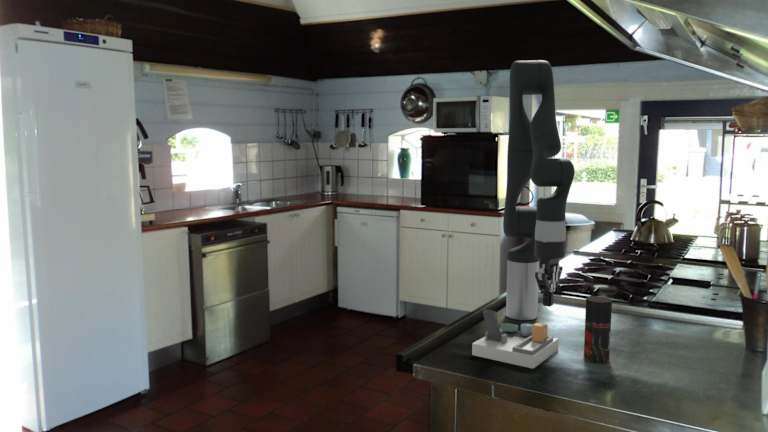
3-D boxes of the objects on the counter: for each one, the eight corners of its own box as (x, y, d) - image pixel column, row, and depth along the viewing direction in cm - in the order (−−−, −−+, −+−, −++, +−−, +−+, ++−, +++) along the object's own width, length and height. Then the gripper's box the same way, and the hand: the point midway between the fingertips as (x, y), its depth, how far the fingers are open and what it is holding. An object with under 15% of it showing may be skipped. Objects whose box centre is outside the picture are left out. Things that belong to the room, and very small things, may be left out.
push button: (523, 331, 166) (523, 322, 166) (535, 333, 164) (535, 324, 164) (518, 334, 163) (518, 325, 163) (530, 337, 162) (530, 327, 161)
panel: (500, 338, 171) (500, 320, 170) (558, 350, 162) (558, 331, 161) (472, 355, 158) (472, 335, 158) (533, 368, 149) (533, 348, 148)
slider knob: (535, 338, 161) (536, 322, 160) (547, 340, 159) (547, 324, 159) (532, 340, 159) (532, 325, 159) (543, 342, 157) (544, 327, 157)
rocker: (507, 329, 168) (507, 323, 168) (517, 331, 166) (518, 325, 166) (500, 329, 165) (501, 323, 165) (511, 331, 163) (512, 325, 163)
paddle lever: (490, 336, 160) (484, 309, 156) (501, 339, 159) (495, 311, 154) (489, 339, 160) (482, 311, 156) (500, 341, 158) (493, 313, 154)
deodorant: (610, 364, 152) (613, 303, 150) (585, 362, 153) (587, 301, 151) (607, 356, 158) (610, 296, 156) (582, 354, 159) (584, 295, 157)
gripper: (545, 234, 168) (543, 298, 169) (525, 239, 157) (523, 308, 159) (573, 236, 163) (571, 302, 165) (554, 242, 153) (552, 313, 154)
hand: (548, 305), depth 162 cm, fingers closed
